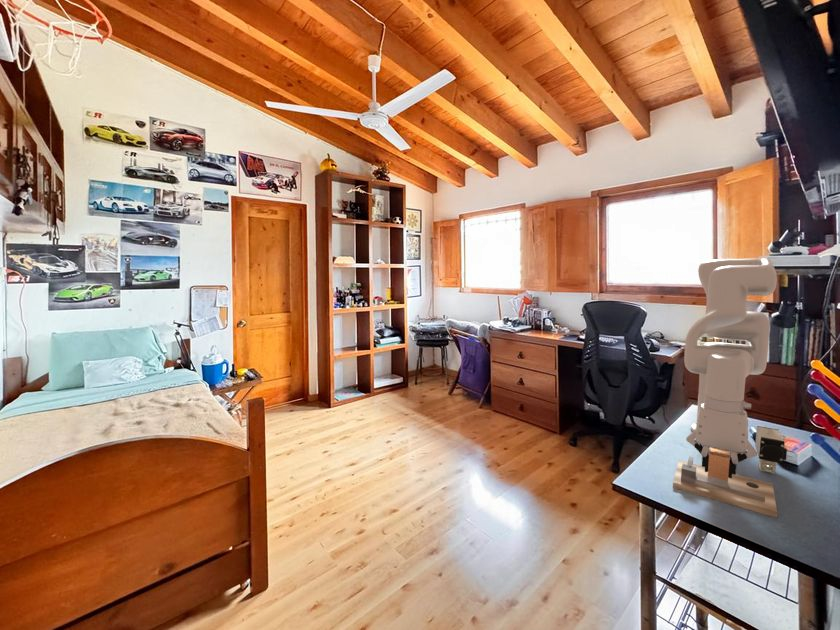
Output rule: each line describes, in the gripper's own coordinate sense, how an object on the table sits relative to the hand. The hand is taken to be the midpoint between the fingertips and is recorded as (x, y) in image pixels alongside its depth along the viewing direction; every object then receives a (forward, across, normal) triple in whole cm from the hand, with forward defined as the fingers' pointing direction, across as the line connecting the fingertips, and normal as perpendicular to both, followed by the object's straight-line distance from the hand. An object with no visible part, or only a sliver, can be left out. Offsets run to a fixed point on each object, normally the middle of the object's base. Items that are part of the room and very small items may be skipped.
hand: (718, 472), depth 96 cm
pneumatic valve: (+6, -11, -22) cm, 25 cm away
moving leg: (+4, 0, -2) cm, 5 cm away
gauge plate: (+6, -1, -4) cm, 7 cm away
